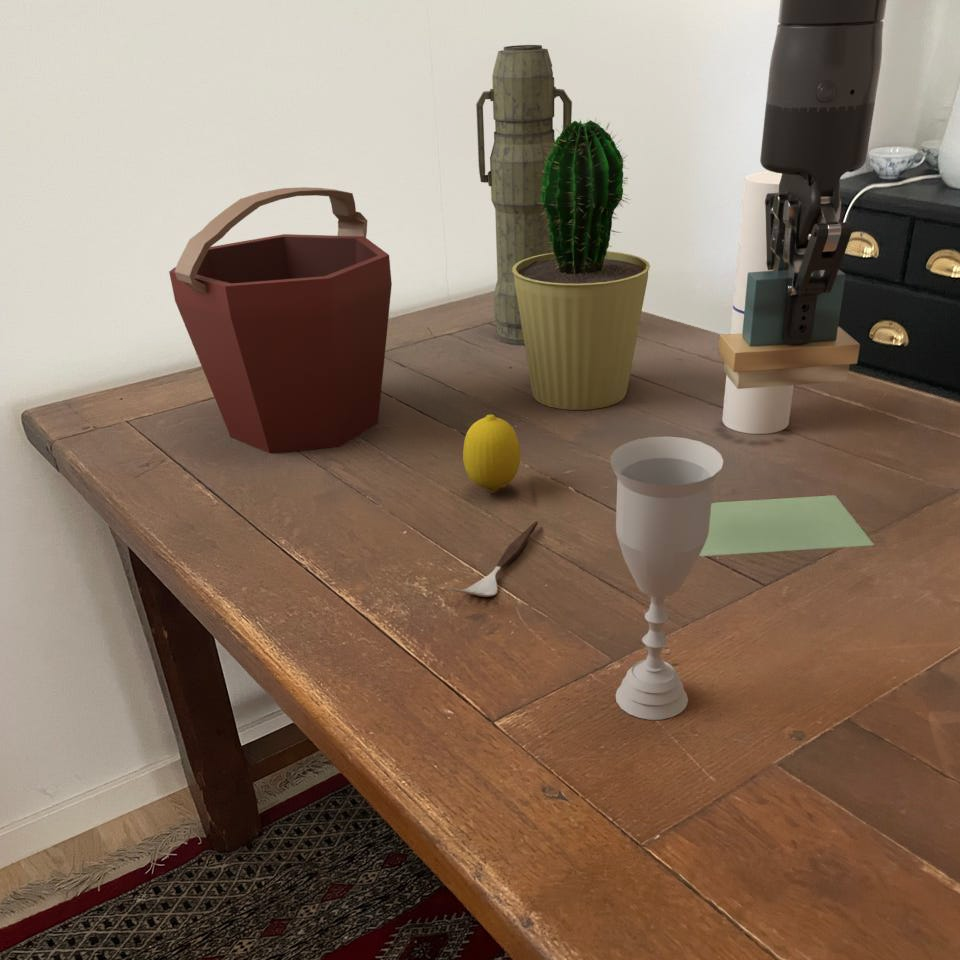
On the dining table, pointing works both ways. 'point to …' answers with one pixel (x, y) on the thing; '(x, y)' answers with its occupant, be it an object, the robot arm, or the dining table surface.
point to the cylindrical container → (748, 405)
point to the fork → (499, 567)
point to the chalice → (661, 549)
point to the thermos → (518, 167)
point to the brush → (767, 356)
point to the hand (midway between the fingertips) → (790, 336)
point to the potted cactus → (581, 279)
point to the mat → (781, 526)
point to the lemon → (491, 453)
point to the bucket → (289, 325)
